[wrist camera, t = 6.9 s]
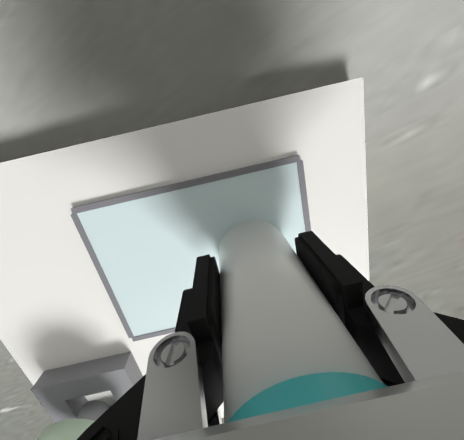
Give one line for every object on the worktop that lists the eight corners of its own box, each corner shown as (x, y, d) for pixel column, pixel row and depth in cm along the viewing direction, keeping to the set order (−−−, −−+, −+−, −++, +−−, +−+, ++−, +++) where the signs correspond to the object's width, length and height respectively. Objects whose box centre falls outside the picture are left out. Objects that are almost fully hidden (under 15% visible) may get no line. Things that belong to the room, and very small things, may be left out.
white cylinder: (282, 209, 12) (537, 494, 3) (293, 274, 13) (487, 624, 4) (209, 227, 12) (186, 570, 3) (226, 289, 14) (253, 673, 4)
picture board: (349, 82, 12) (380, 70, 10) (363, 369, 19) (383, 401, 17) (-78, 183, 12) (-144, 194, 10) (87, 430, 19) (69, 470, 17)
